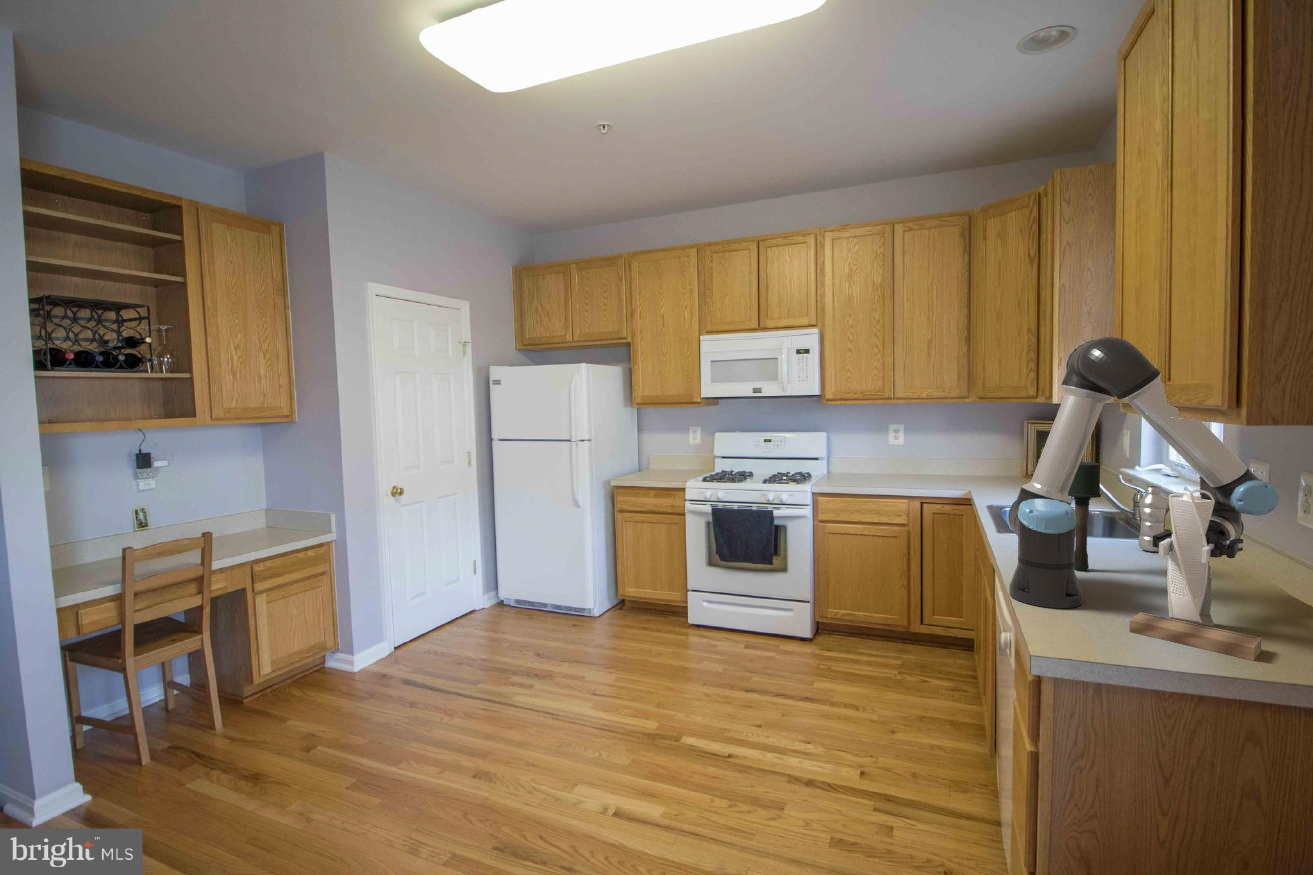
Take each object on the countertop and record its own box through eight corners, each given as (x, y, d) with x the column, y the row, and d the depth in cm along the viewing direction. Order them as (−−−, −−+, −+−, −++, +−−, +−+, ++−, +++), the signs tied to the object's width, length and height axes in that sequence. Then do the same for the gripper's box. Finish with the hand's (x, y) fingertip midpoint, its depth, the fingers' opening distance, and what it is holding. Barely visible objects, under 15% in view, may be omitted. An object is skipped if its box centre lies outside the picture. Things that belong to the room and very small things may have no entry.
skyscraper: (1214, 628, 128) (1222, 492, 125) (1163, 619, 133) (1170, 488, 130) (1209, 615, 135) (1217, 486, 132) (1161, 608, 139) (1168, 483, 137)
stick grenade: (1106, 574, 171) (1109, 464, 169) (1074, 574, 171) (1077, 465, 169) (1086, 565, 180) (1088, 461, 177) (1055, 566, 180) (1057, 461, 178)
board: (1129, 631, 131) (1129, 619, 131) (1140, 623, 135) (1140, 611, 135) (1253, 660, 116) (1254, 646, 116) (1261, 650, 121) (1261, 637, 120)
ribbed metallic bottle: (1163, 555, 188) (1165, 489, 187) (1135, 551, 193) (1137, 486, 192) (1167, 551, 193) (1169, 486, 191) (1140, 547, 198) (1142, 484, 196)
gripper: (1266, 559, 136) (1244, 580, 122) (1156, 544, 152) (1125, 561, 137) (1268, 525, 136) (1245, 542, 122) (1157, 513, 151) (1126, 527, 137)
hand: (1182, 552), depth 130 cm, fingers closed on skyscraper, 6 cm apart
